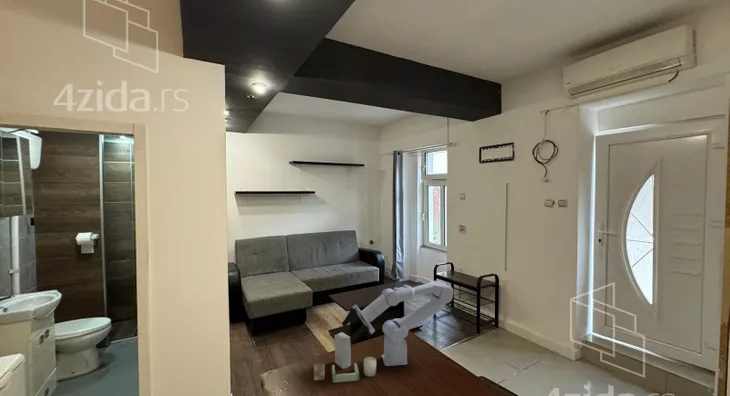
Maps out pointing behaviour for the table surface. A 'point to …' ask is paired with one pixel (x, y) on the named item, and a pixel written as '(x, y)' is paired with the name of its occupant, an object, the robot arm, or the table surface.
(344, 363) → the skincare box
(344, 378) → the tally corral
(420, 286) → the robot arm
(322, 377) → the beech block
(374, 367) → the cream rounded block
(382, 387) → the table surface
